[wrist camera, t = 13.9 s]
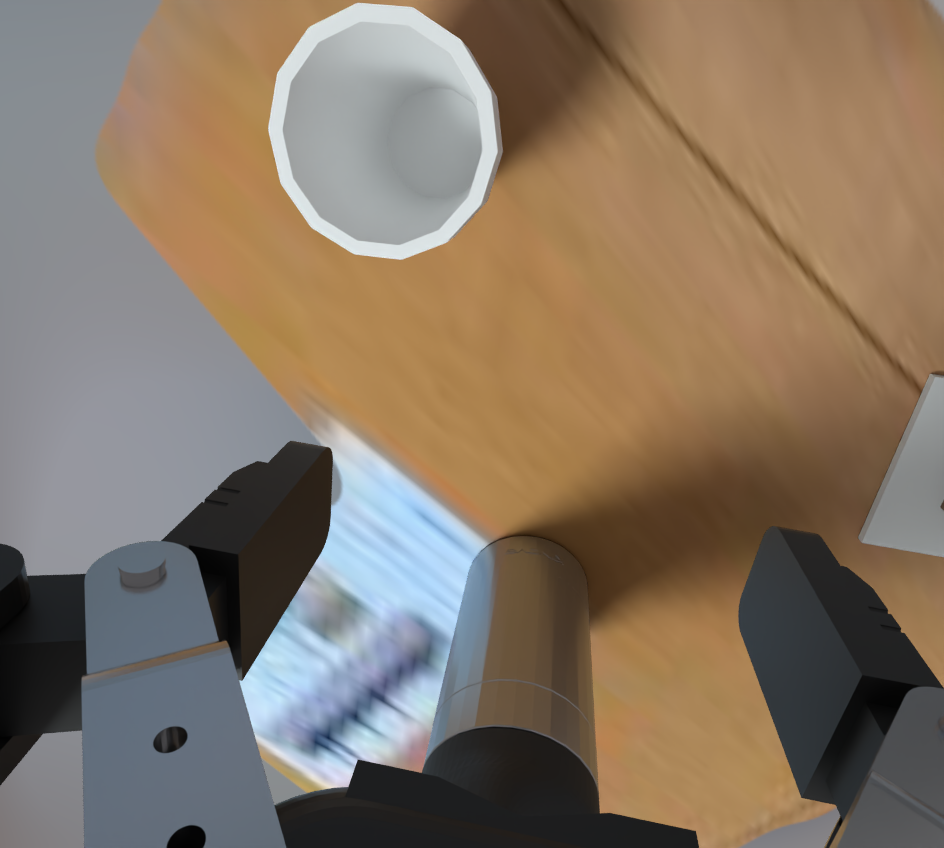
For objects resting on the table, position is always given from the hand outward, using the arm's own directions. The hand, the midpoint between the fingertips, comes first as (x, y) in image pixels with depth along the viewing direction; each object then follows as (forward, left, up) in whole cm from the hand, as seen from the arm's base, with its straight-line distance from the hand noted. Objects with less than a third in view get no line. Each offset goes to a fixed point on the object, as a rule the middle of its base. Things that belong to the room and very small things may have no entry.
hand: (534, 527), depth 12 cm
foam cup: (+6, +8, -30) cm, 32 cm away
